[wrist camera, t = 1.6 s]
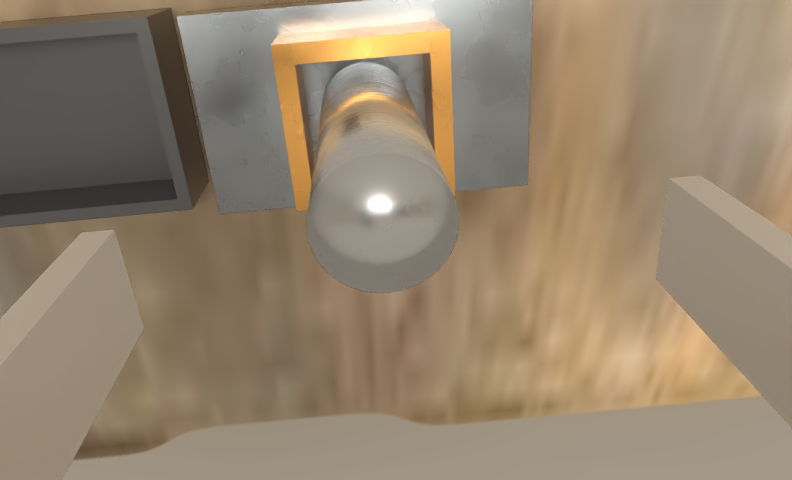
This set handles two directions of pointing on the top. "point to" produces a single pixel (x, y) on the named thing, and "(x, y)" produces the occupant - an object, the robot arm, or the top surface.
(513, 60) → the plate with orange frame
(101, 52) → the pin tray
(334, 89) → the pin
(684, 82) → the top surface
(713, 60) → the top surface
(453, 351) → the top surface
